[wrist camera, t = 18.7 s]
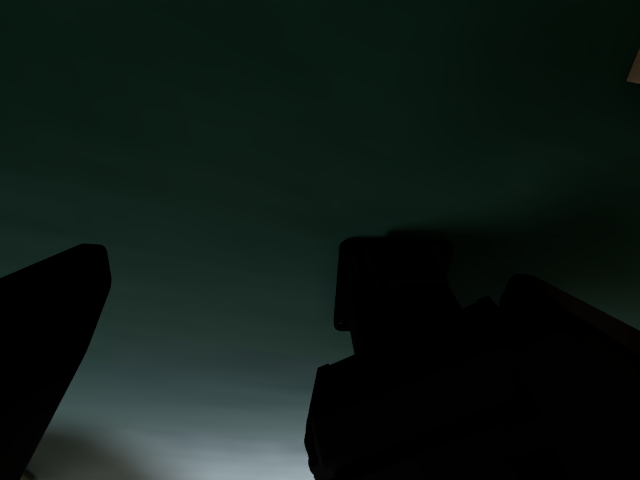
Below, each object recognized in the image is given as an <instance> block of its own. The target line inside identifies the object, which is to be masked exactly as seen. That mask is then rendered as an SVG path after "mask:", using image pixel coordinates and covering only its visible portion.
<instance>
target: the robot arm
mask: <svg viewBox="0 0 640 480" xmlns="http://www.w3.org/2000/svg"><path fill="white" fill-rule="evenodd" d="M347 247H352V249H351V250H350V251H346V250H345V249H346V248H347ZM444 247H447V248H446V250H444V251H441V249H442V248H444ZM452 254H453V247H452V245H451V244H450V242H449V241H447V240H423V239H422V238H379V239H377V240H345V241H343V242H342V243H341V244H340V247H339V259H338V271H337V284H336V297H335V309H334V327H335V329H336V330H338V331H350V333H351V338H352V344H353V349H354V354H355V355H352V356H350V357H348V358H345V359H343V360H341V361H338V362H336V363H334V364H331V365H329V364H326V365H323V366H321V367H319V368H318V369H317V374H316V379H315V384H314V388H313V393H312V398H311V403H310V408H309V413H308V418H307V423H306V433H305V438H304V444H305V448H306V451H307V453H308V457H309V459H308V464H309V468H310V471H311V472H312V474H313V475H314V478H315V480H640V331H639V330H637V329H635V328H633V327H631V326H629V325H628V324H626V323H624V322H622V321H620V320H618V319H616V318H614V317H612V316H610V315H608V314H606V313H604V312H602V311H601V310H599V309H597V308H595V307H593V306H591V305H589V304H587V303H585V302H583V301H581V300H579V299H577V298H575V297H573V296H572V295H570V294H568V293H566V292H564V291H562V290H560V289H558V288H556V287H554V286H552V285H550V284H548V283H546V282H545V281H543V280H541V279H539V278H537V277H535V276H533V275H525V274H515V275H513V276H512V277H511V278H510V280H509V282H508V284H507V286H506V288H505V290H504V293H503V295H502V297H501V299H500V302H499V307H498V306H497V305H496V304H495V303H494V301H493V300H492V299H491V298H490V297H489V296H488V295H487V296H485V297H483V298H480V299H478V300H477V303H475V304H472V305H470V306H468V307H465V308H463V309H462V308H461V307H460V305H459V303H458V301H457V300H456V298H455V296H454V294H453V293H452V291H451V289H450V287H449V286H448V280H447V274H448V270H449V266H450V262H451V258H452ZM110 288H111V273H110V267H109V261H108V255H107V250H106V248H105V247H104V246H103V245H98V244H80V245H78V246H75V247H73V248H71V249H68V250H66V251H63V252H61V253H59V254H56V255H54V256H52V257H49V258H47V259H44V260H42V261H40V262H37V263H35V264H33V265H30V266H28V267H26V268H23V269H21V270H18V271H16V272H14V273H11V274H9V275H7V276H4V277H2V278H0V480H20V479H21V477H22V475H23V473H24V471H25V469H26V467H27V465H28V463H29V462H30V460H31V458H32V456H33V454H34V452H35V450H36V448H37V446H38V444H39V442H40V440H41V438H42V437H43V435H44V433H45V431H46V429H47V427H48V425H49V423H50V421H51V419H52V417H53V415H54V413H55V412H56V410H57V408H58V406H59V404H60V402H61V400H62V398H63V396H64V394H65V392H66V390H67V389H68V387H69V385H70V383H71V381H72V379H73V377H74V375H75V373H76V371H77V369H78V367H79V365H80V364H81V362H82V360H83V357H84V355H85V353H86V351H87V349H88V346H89V344H90V341H91V339H92V336H93V333H94V331H95V328H96V325H97V323H98V320H99V317H100V315H101V312H102V309H103V307H104V304H105V301H106V299H107V296H108V293H109V291H110ZM341 322H344V323H343V324H339V323H341Z"/></svg>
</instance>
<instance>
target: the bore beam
mask: <svg viewBox="0 0 640 480" xmlns="http://www.w3.org/2000/svg"><path fill="white" fill-rule="evenodd" d="M626 81H628V82H633V83H638V84H640V48H639V51H638V53H637V56H636V58H635V61H634V63H633V66H632V68H631V71H630V73H629V75H628V78H627V80H626Z"/></svg>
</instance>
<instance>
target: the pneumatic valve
mask: <svg viewBox="0 0 640 480" xmlns="http://www.w3.org/2000/svg"><path fill="white" fill-rule="evenodd" d="M20 480H34V476H33V475H31V474H29V473H28V472H26V471H24V473H23V475H22V477H21V479H20Z"/></svg>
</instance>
